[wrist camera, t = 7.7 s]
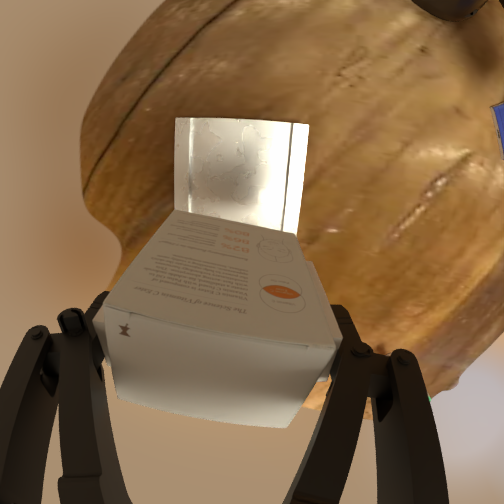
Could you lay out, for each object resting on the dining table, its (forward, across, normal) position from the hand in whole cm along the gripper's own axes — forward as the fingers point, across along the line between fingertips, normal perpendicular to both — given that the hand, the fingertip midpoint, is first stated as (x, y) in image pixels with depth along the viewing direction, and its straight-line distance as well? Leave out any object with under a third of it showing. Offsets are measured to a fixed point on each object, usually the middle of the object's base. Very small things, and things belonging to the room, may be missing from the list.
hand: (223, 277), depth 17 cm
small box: (+3, 0, 0) cm, 3 cm away
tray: (+16, 0, -5) cm, 17 cm away
